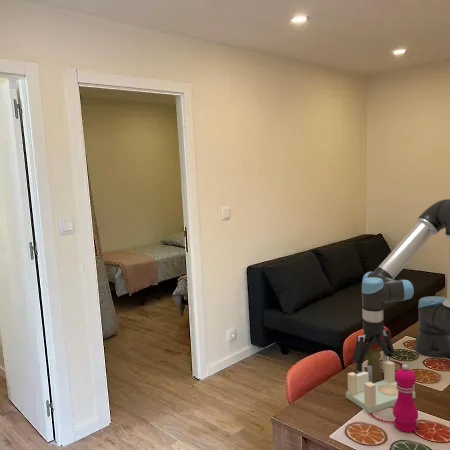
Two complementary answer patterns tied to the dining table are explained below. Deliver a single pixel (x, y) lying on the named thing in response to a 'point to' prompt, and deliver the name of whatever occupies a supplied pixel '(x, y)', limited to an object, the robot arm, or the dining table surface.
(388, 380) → the stand
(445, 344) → the robot arm
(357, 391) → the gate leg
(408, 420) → the pepper mill
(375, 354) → the pepper shaker
